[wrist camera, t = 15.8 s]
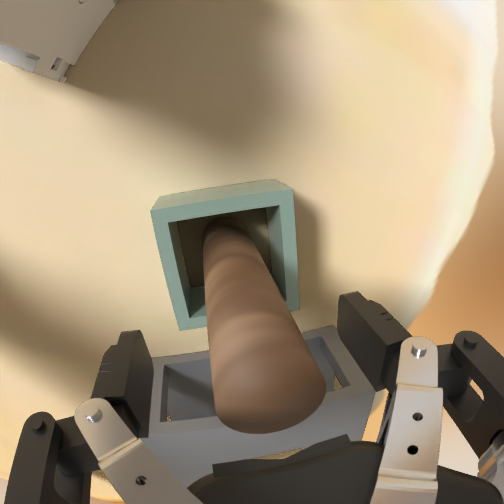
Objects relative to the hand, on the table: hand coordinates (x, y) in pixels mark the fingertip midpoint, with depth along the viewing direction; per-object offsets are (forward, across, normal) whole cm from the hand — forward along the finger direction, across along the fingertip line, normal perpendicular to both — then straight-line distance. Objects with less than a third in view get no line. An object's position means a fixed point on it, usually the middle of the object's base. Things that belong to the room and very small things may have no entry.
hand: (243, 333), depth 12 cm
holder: (+10, 0, 0) cm, 10 cm away
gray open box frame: (+10, 0, +17) cm, 19 cm away
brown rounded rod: (+10, 0, 0) cm, 10 cm away
